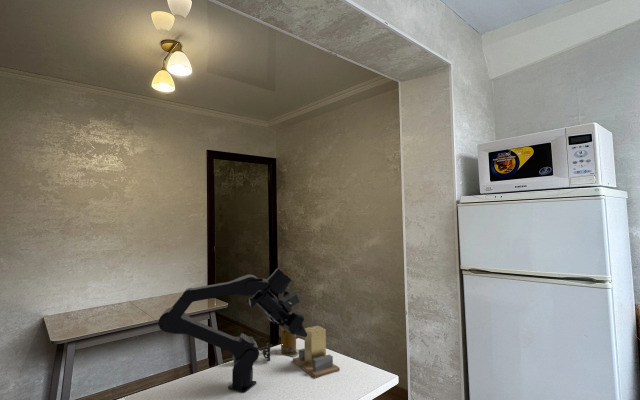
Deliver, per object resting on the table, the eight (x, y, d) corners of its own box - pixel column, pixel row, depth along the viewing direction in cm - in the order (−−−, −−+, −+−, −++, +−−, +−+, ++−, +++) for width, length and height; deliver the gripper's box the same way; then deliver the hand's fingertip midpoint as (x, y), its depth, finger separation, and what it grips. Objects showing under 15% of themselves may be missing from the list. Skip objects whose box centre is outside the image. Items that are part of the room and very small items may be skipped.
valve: (236, 368, 115) (270, 364, 118) (236, 349, 116) (270, 345, 119) (237, 360, 122) (269, 357, 124) (237, 342, 122) (269, 339, 125)
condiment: (286, 347, 134) (286, 318, 135) (304, 350, 130) (303, 320, 131) (276, 353, 128) (276, 322, 129) (294, 357, 124) (294, 325, 125)
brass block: (311, 367, 113) (311, 332, 114) (304, 362, 117) (304, 328, 118) (326, 363, 116) (325, 329, 117) (318, 358, 120) (318, 325, 121)
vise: (339, 370, 112) (339, 357, 112) (315, 378, 107) (314, 364, 107) (315, 354, 126) (315, 343, 126) (292, 360, 121) (292, 348, 121)
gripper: (298, 289, 103) (328, 319, 107) (274, 281, 118) (301, 307, 123) (276, 318, 98) (307, 348, 103) (254, 305, 114) (282, 332, 118)
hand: (299, 332), depth 112 cm, fingers open, 9 cm apart
